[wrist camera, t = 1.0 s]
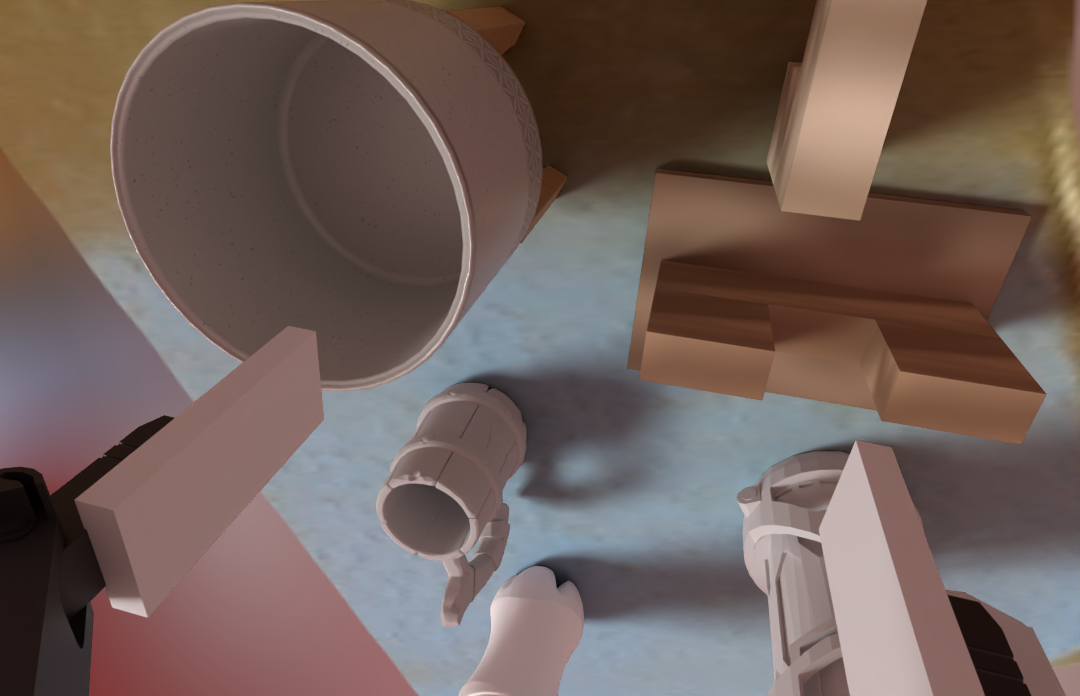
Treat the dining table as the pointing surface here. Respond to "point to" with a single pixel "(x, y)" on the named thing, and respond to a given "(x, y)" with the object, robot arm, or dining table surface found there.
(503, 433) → the mug
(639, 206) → the dining table surface
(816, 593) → the lantern
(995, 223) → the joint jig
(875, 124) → the notched wooden board
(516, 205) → the planter
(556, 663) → the water bottle
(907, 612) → the robot arm
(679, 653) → the dining table surface
